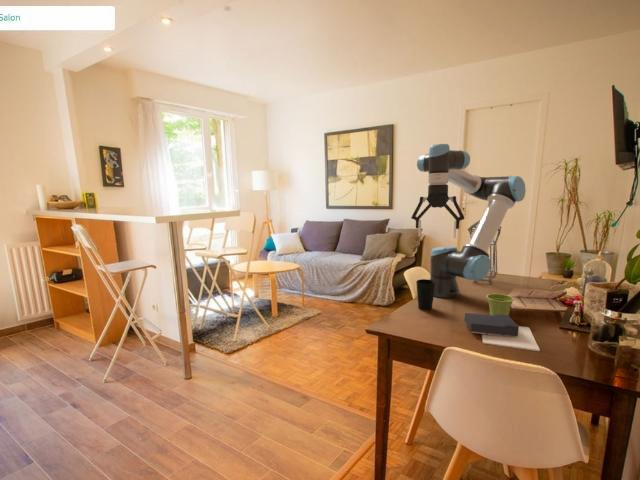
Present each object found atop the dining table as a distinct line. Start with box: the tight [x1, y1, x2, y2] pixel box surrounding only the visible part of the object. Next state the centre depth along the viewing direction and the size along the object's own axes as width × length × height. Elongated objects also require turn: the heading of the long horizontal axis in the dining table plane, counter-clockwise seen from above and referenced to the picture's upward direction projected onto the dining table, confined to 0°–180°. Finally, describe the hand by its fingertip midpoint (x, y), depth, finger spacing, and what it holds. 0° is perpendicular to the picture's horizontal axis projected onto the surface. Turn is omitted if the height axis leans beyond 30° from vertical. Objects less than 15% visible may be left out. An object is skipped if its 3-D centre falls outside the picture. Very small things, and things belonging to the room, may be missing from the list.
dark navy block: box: [464, 312, 520, 337], centre depth 118 cm, size 11×4×15 cm
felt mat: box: [481, 325, 541, 352], centre depth 114 cm, size 18×16×1 cm
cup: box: [416, 278, 435, 312], centre depth 141 cm, size 8×8×12 cm
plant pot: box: [486, 293, 515, 317], centre depth 128 cm, size 9×9×9 cm
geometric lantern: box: [467, 219, 502, 285], centre depth 176 cm, size 16×16×35 cm
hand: (436, 236), depth 134 cm, fingers open, 13 cm apart
